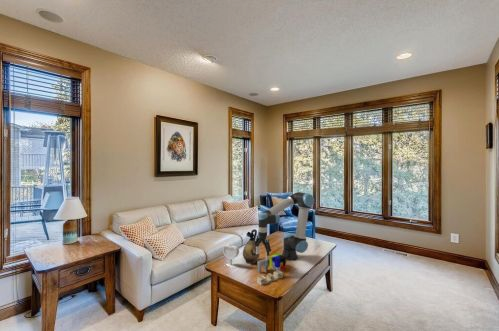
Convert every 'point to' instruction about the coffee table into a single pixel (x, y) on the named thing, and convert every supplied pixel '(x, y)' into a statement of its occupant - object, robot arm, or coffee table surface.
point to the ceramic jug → (250, 248)
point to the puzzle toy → (277, 262)
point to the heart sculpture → (230, 253)
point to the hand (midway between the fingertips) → (262, 256)
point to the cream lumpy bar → (269, 277)
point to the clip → (262, 262)
